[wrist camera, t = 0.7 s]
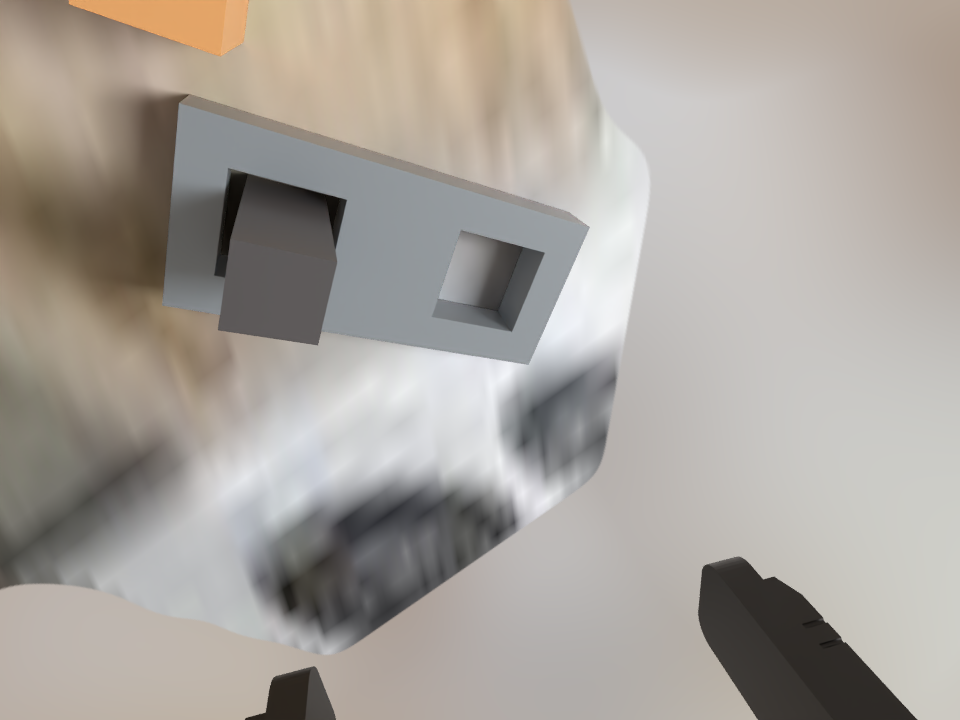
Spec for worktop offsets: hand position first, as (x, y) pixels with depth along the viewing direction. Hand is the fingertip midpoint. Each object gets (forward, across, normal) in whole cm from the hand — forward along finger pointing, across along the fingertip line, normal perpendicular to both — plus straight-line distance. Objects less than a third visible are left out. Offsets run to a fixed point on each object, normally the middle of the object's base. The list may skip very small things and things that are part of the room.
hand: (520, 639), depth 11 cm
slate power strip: (+26, +1, -3) cm, 26 cm away
